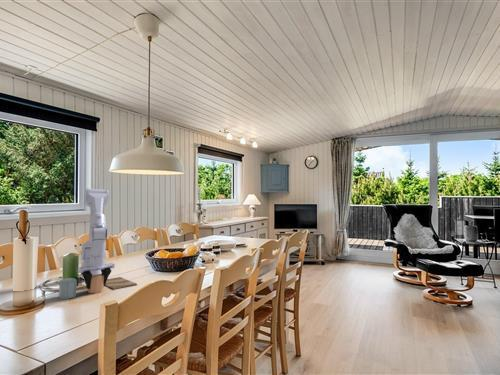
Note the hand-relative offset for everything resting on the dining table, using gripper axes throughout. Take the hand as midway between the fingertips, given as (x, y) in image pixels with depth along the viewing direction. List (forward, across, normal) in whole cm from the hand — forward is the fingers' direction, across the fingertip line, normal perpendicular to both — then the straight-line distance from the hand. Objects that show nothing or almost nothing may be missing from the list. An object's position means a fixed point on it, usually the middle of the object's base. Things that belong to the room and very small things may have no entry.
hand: (95, 287), depth 134 cm
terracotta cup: (+2, 0, 0) cm, 2 cm away
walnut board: (+2, +12, +5) cm, 13 cm away
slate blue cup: (+2, -11, 0) cm, 11 cm away
